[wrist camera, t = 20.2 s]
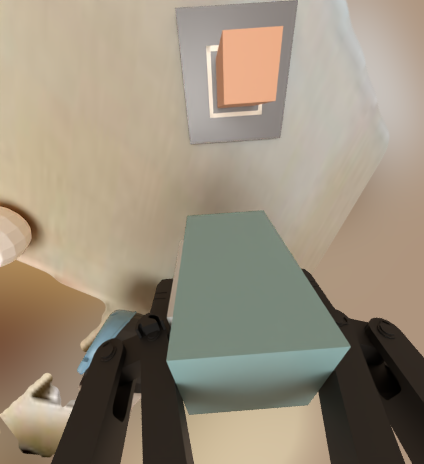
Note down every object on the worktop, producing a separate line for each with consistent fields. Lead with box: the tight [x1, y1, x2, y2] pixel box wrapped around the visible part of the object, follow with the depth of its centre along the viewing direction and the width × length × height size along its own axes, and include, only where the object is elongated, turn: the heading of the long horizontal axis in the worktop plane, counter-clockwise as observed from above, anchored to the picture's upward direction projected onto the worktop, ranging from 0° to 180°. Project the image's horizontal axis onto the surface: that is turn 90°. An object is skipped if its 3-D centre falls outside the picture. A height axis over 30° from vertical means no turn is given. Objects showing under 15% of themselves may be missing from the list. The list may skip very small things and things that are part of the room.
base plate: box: [175, 0, 298, 144], centre depth 28 cm, size 16×16×2 cm
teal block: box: [166, 211, 351, 415], centre depth 12 cm, size 6×6×10 cm
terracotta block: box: [216, 26, 283, 108], centre depth 24 cm, size 6×6×10 cm
